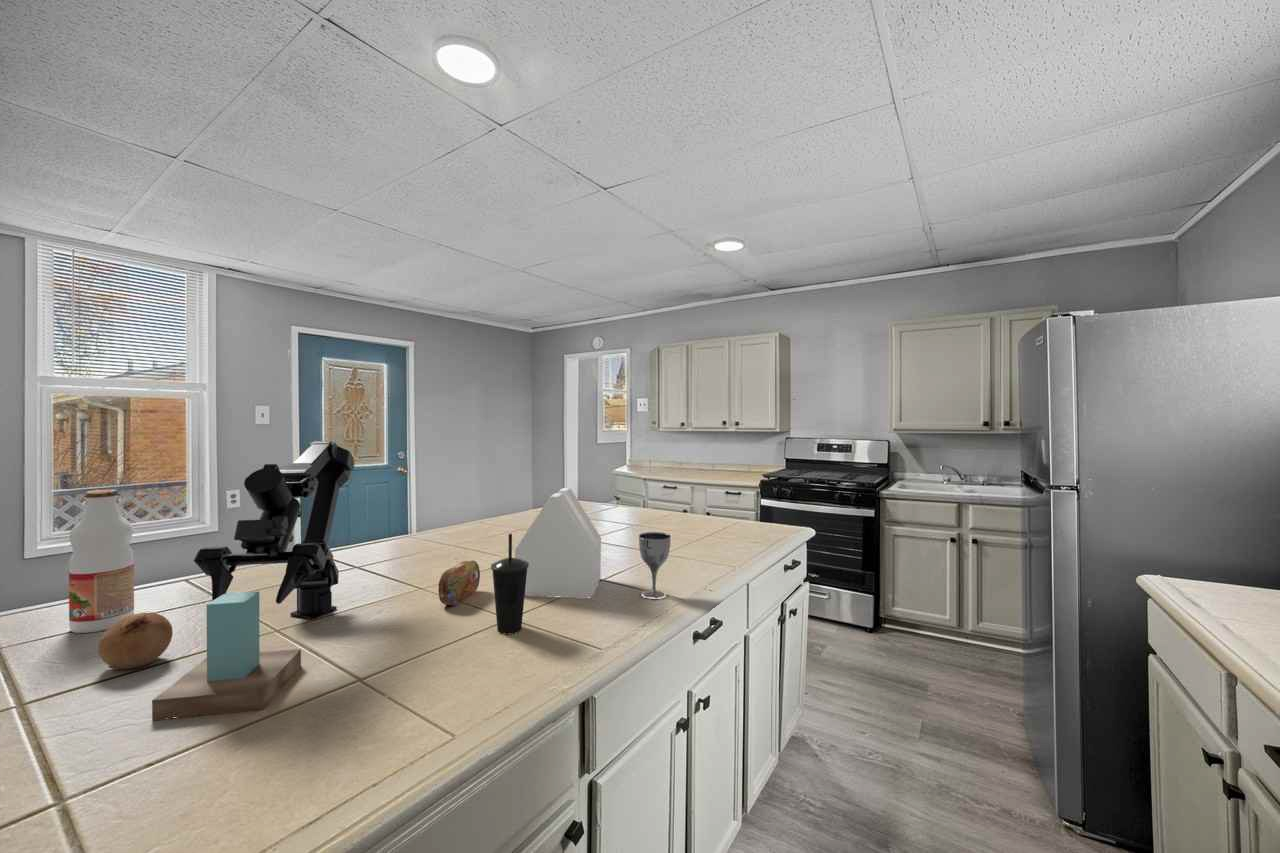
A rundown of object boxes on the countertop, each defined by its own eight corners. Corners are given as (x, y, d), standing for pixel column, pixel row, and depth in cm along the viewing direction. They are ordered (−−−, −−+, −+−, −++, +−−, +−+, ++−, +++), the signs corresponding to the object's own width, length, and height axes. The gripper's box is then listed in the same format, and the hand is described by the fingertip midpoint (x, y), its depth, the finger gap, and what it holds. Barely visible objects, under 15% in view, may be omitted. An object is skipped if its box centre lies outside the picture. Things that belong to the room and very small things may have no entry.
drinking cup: (535, 625, 111) (536, 531, 110) (515, 639, 103) (516, 539, 103) (504, 620, 113) (505, 528, 113) (482, 633, 106) (483, 536, 105)
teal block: (224, 666, 85) (224, 593, 85) (259, 663, 86) (259, 591, 86) (206, 681, 80) (206, 604, 80) (244, 678, 81) (243, 602, 81)
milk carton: (514, 596, 128) (515, 495, 128) (531, 577, 144) (532, 487, 143) (591, 598, 127) (592, 497, 127) (600, 579, 143) (601, 488, 142)
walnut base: (209, 673, 88) (208, 656, 88) (300, 665, 92) (301, 648, 92) (152, 720, 75) (152, 700, 75) (262, 709, 78) (262, 689, 78)
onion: (143, 687, 89) (143, 644, 86) (82, 676, 88) (79, 632, 84) (185, 645, 98) (186, 604, 95) (131, 634, 97) (130, 593, 93)
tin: (448, 611, 118) (448, 574, 118) (435, 609, 119) (435, 573, 119) (481, 589, 133) (481, 556, 133) (469, 588, 133) (470, 556, 133)
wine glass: (675, 593, 131) (676, 534, 131) (659, 603, 125) (660, 540, 124) (648, 587, 136) (649, 530, 135) (632, 596, 129) (632, 536, 129)
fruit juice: (127, 627, 107) (126, 492, 106) (61, 638, 101) (59, 495, 101) (139, 613, 114) (138, 486, 114) (78, 621, 109) (77, 489, 109)
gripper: (199, 501, 89) (156, 585, 79) (320, 498, 94) (294, 578, 83) (225, 535, 97) (189, 616, 87) (335, 531, 101) (313, 608, 91)
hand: (246, 604), depth 87 cm, fingers open, 9 cm apart
